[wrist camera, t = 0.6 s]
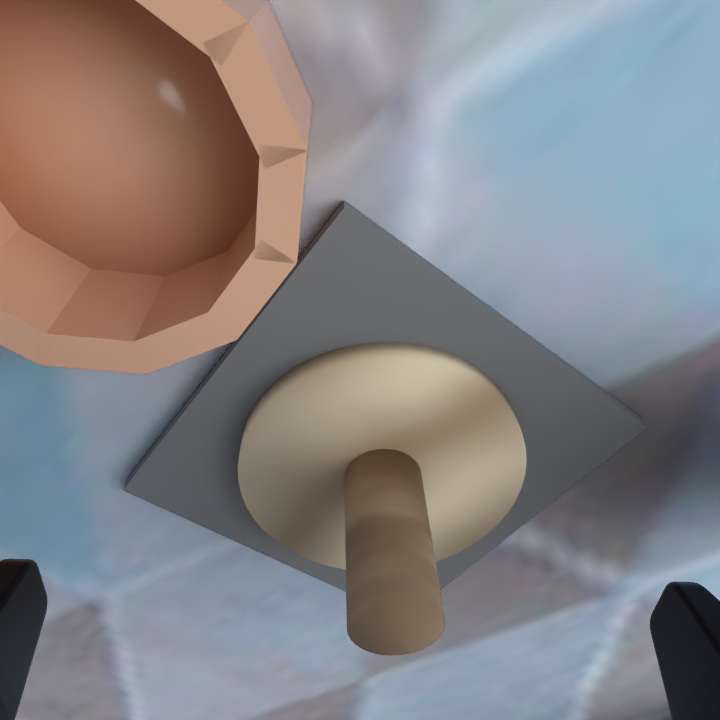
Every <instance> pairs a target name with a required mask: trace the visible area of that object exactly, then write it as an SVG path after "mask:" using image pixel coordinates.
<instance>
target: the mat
mask: <svg viewBox="0 0 720 720" xmlns="http://www.w3.org/2000/svg"><path fill="white" fill-rule="evenodd" d="M374 342H403V343H411V344H417V345H424V346H428V347H432V348H435V349H439V350H442V351H445V352H448V353H450V354H452V355H455V356H457V357H460V358H462V359H463V360H465V361H467V362H469V363H470V364H472V365H474V366H476V367H477V368H478V369H480V370H481V371H482V372H483V373H485V374H486V375H487V376H489V377H490V378H491V379H492V380H493V381H494V382H495V383H496V385H497V386H498V387H499V388H500V389H501V390H502V392H503V393H504V395H505V396H506V397H507V399H508V400H509V402H510V404H511V406H512V409H513V411H514V413H515V415H516V418H517V421H518V423H519V426H520V428H521V431H522V434H523V438H524V442H525V446H526V458H527V463H526V472H525V477H524V481H523V484H522V488H521V490H520V492H519V495H518V497H517V499H516V501H515V503H514V504H513V506H512V507H511V509H510V510H509V512H508V513H507V514H506V516H505V517H504V518H503V519H502V520H501V521H500V523H499V524H498V525H497V526H496V527H495V528H493V529H492V530H491V531H490V532H489V533H488V534H487V535H485V536H484V537H483V538H481V539H480V540H478V541H477V542H476V543H474V544H473V545H471V546H469V547H468V548H466V549H464V550H462V551H460V552H458V553H456V554H454V555H452V556H450V557H447V558H445V559H442V560H439V561H436V568H437V574H438V580H439V586H440V589H442V588H443V587H444V586H446V585H447V584H448V583H449V582H451V581H452V580H453V579H455V578H456V577H457V576H458V575H460V574H461V573H462V572H463V571H465V570H466V569H467V568H469V567H470V566H471V565H472V564H474V563H475V562H476V561H478V560H479V559H480V558H481V557H483V556H484V555H485V554H487V553H488V552H489V551H490V550H492V549H493V548H494V547H495V546H497V545H498V544H499V543H501V542H502V541H503V540H504V539H506V538H507V537H508V536H510V535H511V534H512V533H513V532H515V531H516V530H517V529H518V528H520V527H521V526H522V525H524V524H525V523H526V522H527V521H529V520H530V519H531V518H533V517H534V516H535V515H536V514H538V513H539V512H540V511H542V510H543V509H544V508H545V507H547V506H548V505H549V504H550V503H552V502H553V501H554V500H556V499H557V498H558V497H559V496H561V495H562V494H563V493H565V492H566V491H567V490H568V489H570V488H571V487H572V486H574V485H575V484H576V483H577V482H579V481H580V480H581V479H582V478H584V477H585V476H586V475H588V474H589V473H590V472H591V471H593V470H594V469H595V468H597V467H598V466H599V465H600V464H602V463H603V462H604V461H606V460H607V459H608V458H609V457H611V456H612V455H613V454H614V453H616V452H617V451H618V450H620V449H621V448H622V447H623V446H625V445H626V444H627V443H629V442H630V441H631V440H632V439H634V438H635V437H636V436H637V435H639V434H640V433H641V432H643V431H644V430H645V429H646V428H648V427H647V426H646V424H645V423H644V421H643V419H642V418H641V417H640V416H639V415H637V414H636V413H635V412H633V411H632V410H631V409H629V408H628V407H626V406H625V405H624V404H622V403H621V402H620V401H618V400H617V399H615V398H614V397H613V396H611V395H610V394H609V393H607V392H606V391H605V390H603V389H602V388H600V387H599V386H598V385H596V384H595V383H594V382H592V381H591V380H589V379H588V378H587V377H585V376H584V375H583V374H581V373H580V372H579V371H577V370H576V369H574V368H573V367H572V366H570V365H569V364H568V363H566V362H565V361H563V360H562V359H561V358H559V357H558V356H557V355H555V354H554V353H552V352H551V351H550V350H548V349H547V348H546V347H544V346H543V345H542V344H540V343H539V342H537V341H536V340H535V339H533V338H532V337H531V336H529V335H528V334H526V333H525V332H524V331H522V330H521V329H520V328H518V327H517V326H516V325H514V324H513V323H511V322H510V321H509V320H507V319H506V318H505V317H503V316H502V315H500V314H499V313H498V312H496V311H495V310H494V309H492V308H491V307H490V306H488V305H487V304H485V303H484V302H483V301H481V300H480V299H479V298H477V297H476V296H474V295H473V294H472V293H470V292H469V291H468V290H466V289H465V288H464V287H462V286H461V285H459V284H458V283H457V282H455V281H454V280H453V279H451V278H450V277H448V276H447V275H446V274H444V273H443V272H442V271H440V270H439V269H437V268H436V267H435V266H433V265H432V264H431V263H429V262H428V261H427V260H425V259H424V258H422V257H421V256H420V255H418V254H417V253H416V252H414V251H413V250H411V249H410V248H409V247H407V246H406V245H405V244H403V243H402V242H401V241H399V240H398V239H396V238H395V237H394V236H392V235H391V234H390V233H388V232H387V231H385V230H384V229H383V228H381V227H380V226H379V225H377V224H376V223H375V222H373V221H372V220H370V219H369V218H368V217H366V216H365V215H364V214H362V213H361V212H359V211H358V210H357V209H355V208H354V207H353V206H351V205H350V204H349V203H347V202H346V201H343V202H342V203H341V205H340V206H339V207H338V209H337V210H336V211H335V212H334V214H333V215H332V216H331V218H330V219H329V220H328V221H327V223H326V224H325V225H324V227H323V228H322V229H321V230H320V232H319V233H318V234H317V236H316V237H315V238H314V239H313V241H312V242H311V243H310V245H309V246H308V247H307V248H306V250H305V251H304V252H303V254H302V255H301V256H300V257H299V259H298V260H297V264H296V265H295V266H294V268H293V269H292V270H291V271H290V273H289V274H288V275H287V277H286V278H285V279H284V280H283V282H282V283H281V284H280V286H279V287H278V288H277V289H276V291H275V292H274V293H273V294H272V296H271V297H270V298H269V300H268V301H267V302H266V303H265V305H264V306H263V307H262V309H261V310H260V311H259V312H258V314H257V315H256V316H255V318H254V319H253V320H252V321H251V323H250V324H249V325H248V327H247V328H246V329H245V330H244V332H243V333H242V334H241V335H240V337H239V338H238V339H237V340H236V341H234V342H233V343H232V345H231V346H230V347H229V349H228V350H227V351H226V352H225V354H224V355H223V356H222V358H221V359H220V360H219V361H218V363H217V364H216V365H215V367H214V368H213V369H212V370H211V372H210V373H209V374H208V376H207V377H206V378H205V379H204V381H203V382H202V383H201V385H200V386H199V387H198V388H197V390H196V391H195V392H194V394H193V395H192V396H191V397H190V399H189V400H188V401H187V403H186V404H185V405H184V406H183V408H182V409H181V410H180V412H179V413H178V414H177V415H176V417H175V418H174V419H173V421H172V422H171V423H170V424H169V426H168V427H167V428H166V430H165V431H164V432H163V433H162V435H161V436H160V437H159V439H158V440H157V441H156V442H155V444H154V445H153V446H152V448H151V449H150V450H149V451H148V453H147V454H146V455H145V456H144V458H143V459H142V460H141V462H140V463H139V464H138V465H137V467H136V468H135V469H134V471H133V472H132V473H131V474H130V476H129V477H128V478H127V480H126V483H125V486H124V489H123V490H124V491H126V492H128V493H131V494H133V495H135V496H137V497H139V498H142V499H144V500H146V501H148V502H150V503H153V504H155V505H157V506H159V507H161V508H164V509H166V510H168V511H170V512H172V513H175V514H177V515H179V516H181V517H183V518H186V519H188V520H190V521H192V522H194V523H197V524H199V525H201V526H203V527H205V528H208V529H210V530H212V531H214V532H216V533H219V534H221V535H223V536H225V537H227V538H230V539H232V540H234V541H236V542H238V543H241V544H243V545H245V546H247V547H249V548H252V549H254V550H256V551H258V552H260V553H263V554H265V555H267V556H269V557H271V558H274V559H276V560H278V561H280V562H282V563H285V564H287V565H289V566H291V567H293V568H296V569H298V570H300V571H302V572H304V573H307V574H309V575H311V576H313V577H315V578H318V579H320V580H322V581H324V582H326V583H329V584H331V585H333V586H335V587H337V588H340V589H342V590H344V591H346V569H341V568H336V567H330V566H327V565H324V564H320V563H317V562H314V561H311V560H309V559H306V558H304V557H302V556H299V555H298V554H296V553H294V552H292V551H290V550H288V549H286V548H285V547H284V546H282V545H281V544H279V543H278V542H276V541H275V540H274V539H273V538H271V537H270V536H269V535H268V534H267V533H266V532H265V531H264V530H263V529H262V528H261V527H260V526H259V525H258V523H257V522H256V521H255V520H254V518H253V517H252V515H251V514H250V512H249V510H248V509H247V507H246V505H245V502H244V500H243V497H242V495H241V491H240V487H239V482H238V460H239V453H240V447H241V442H242V436H243V432H244V429H245V426H246V423H247V420H248V418H249V416H250V414H251V412H252V410H253V408H254V406H255V405H256V404H257V402H258V401H259V399H260V398H261V397H262V395H263V394H264V393H265V392H266V391H267V390H268V389H269V388H270V387H271V386H272V385H273V384H274V383H275V382H276V381H277V380H278V379H279V378H281V377H282V376H283V375H285V374H286V373H287V372H288V371H290V370H291V369H293V368H295V367H296V366H298V365H300V364H302V363H303V362H305V361H307V360H309V359H311V358H314V357H316V356H318V355H321V354H323V353H325V352H329V351H332V350H335V349H339V348H342V347H346V346H352V345H357V344H363V343H374Z"/></svg>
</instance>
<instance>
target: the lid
mask: <svg viewBox="0 0 720 720" xmlns="http://www.w3.org/2000/svg"><path fill="white" fill-rule="evenodd" d="M526 463H527V458H526V446H525V442H524V438H523V434H522V431H521V428H520V426H519V423H518V421H517V418H516V415H515V413H514V411H513V409H512V406H511V404H510V402H509V400H508V399H507V397H506V396H505V395H504V393H503V392H502V390H501V389H500V388H499V387H498V386H497V385H496V383H495V382H494V381H493V380H492V379H491V378H490V377H489V376H487V375H486V374H485V373H483V372H482V371H481V370H480V369H478V368H477V367H476V366H474V365H472V364H470V363H469V362H467V361H465V360H463V359H462V358H460V357H457V356H455V355H452V354H450V353H448V352H445V351H442V350H439V349H435V348H432V347H428V346H424V345H417V344H411V343H403V342H374V343H363V344H357V345H352V346H346V347H342V348H339V349H335V350H332V351H329V352H325V353H323V354H321V355H318V356H316V357H314V358H311V359H309V360H307V361H305V362H303V363H302V364H300V365H298V366H296V367H295V368H293V369H291V370H290V371H288V372H287V373H286V374H285V375H283V376H282V377H281V378H279V379H278V380H277V381H276V382H275V383H274V384H273V385H272V386H271V387H270V388H269V389H268V390H267V391H266V392H265V393H264V394H263V395H262V397H261V398H260V399H259V401H258V402H257V404H256V405H255V406H254V408H253V410H252V412H251V414H250V416H249V418H248V420H247V423H246V426H245V429H244V432H243V436H242V442H241V447H240V453H239V460H238V482H239V487H240V491H241V495H242V497H243V500H244V502H245V505H246V507H247V509H248V510H249V512H250V514H251V515H252V517H253V518H254V520H255V521H256V522H257V523H258V525H259V526H260V527H261V528H262V529H263V530H264V531H265V532H266V533H267V534H268V535H269V536H270V537H271V538H273V539H274V540H275V541H276V542H278V543H279V544H281V545H282V546H284V547H285V548H286V549H288V550H290V551H292V552H294V553H296V554H298V555H299V556H302V557H304V558H306V559H309V560H311V561H314V562H317V563H320V564H324V565H327V566H330V567H336V568H341V569H346V602H347V632H348V635H349V637H350V639H351V640H352V641H353V642H354V643H355V644H356V645H357V646H359V647H360V648H362V649H364V650H366V651H369V652H372V653H375V654H381V655H404V654H409V653H413V652H417V651H420V650H422V649H424V648H426V647H428V646H430V645H431V644H433V643H434V642H435V641H436V640H438V638H439V637H440V636H441V635H442V633H443V631H444V628H445V617H444V611H443V605H442V598H441V592H440V586H439V580H438V574H437V568H436V561H439V560H442V559H445V558H447V557H450V556H452V555H454V554H456V553H458V552H460V551H462V550H464V549H466V548H468V547H469V546H471V545H473V544H474V543H476V542H477V541H478V540H480V539H481V538H483V537H484V536H485V535H487V534H488V533H489V532H490V531H491V530H492V529H493V528H495V527H496V526H497V525H498V524H499V523H500V521H501V520H502V519H503V518H504V517H505V516H506V514H507V513H508V512H509V510H510V509H511V507H512V506H513V504H514V503H515V501H516V499H517V497H518V495H519V492H520V490H521V488H522V484H523V481H524V477H525V472H526Z"/></svg>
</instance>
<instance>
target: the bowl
mask: <svg viewBox="0 0 720 720" xmlns="http://www.w3.org/2000/svg"><path fill="white" fill-rule="evenodd" d="M311 111H312V102H311V99H310V97H309V95H308V92H307V90H306V88H305V85H304V83H303V81H302V78H301V76H300V74H299V71H298V69H297V67H296V64H295V62H294V60H293V57H292V55H291V53H290V50H289V48H288V46H287V43H286V41H285V39H284V36H283V34H282V32H281V29H280V27H279V25H278V22H277V20H276V18H275V15H274V13H273V11H272V8H271V6H270V4H269V2H268V0H0V345H1V346H3V347H5V348H7V349H9V350H11V351H13V352H15V353H17V354H19V355H21V356H23V357H25V358H27V359H29V360H31V361H33V362H34V363H36V364H38V365H42V366H54V367H65V368H76V369H88V370H99V371H111V372H122V373H133V374H145V375H147V374H149V373H152V372H154V371H157V370H160V369H162V368H165V367H168V366H170V365H173V364H175V363H178V362H181V361H183V360H186V359H189V358H191V357H194V356H197V355H199V354H202V353H204V352H207V351H210V350H212V349H215V348H218V347H220V346H223V345H225V344H228V343H231V342H233V341H236V340H237V339H238V338H239V337H240V335H241V334H242V333H243V332H244V330H245V329H246V328H247V327H248V325H249V324H250V323H251V321H252V320H253V319H254V318H255V316H256V315H257V314H258V312H259V311H260V310H261V309H262V307H263V306H264V305H265V303H266V302H267V301H268V300H269V298H270V297H271V296H272V294H273V293H274V292H275V291H276V289H277V288H278V287H279V286H280V284H281V283H282V282H283V280H284V279H285V278H286V277H287V275H288V274H289V273H290V271H291V270H292V269H293V268H294V266H295V265H296V264H297V258H298V249H299V239H300V229H301V220H302V210H303V200H304V188H305V177H306V166H307V155H308V144H309V133H310V122H311Z"/></svg>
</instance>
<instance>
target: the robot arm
mask: <svg viewBox="0 0 720 720" xmlns="http://www.w3.org/2000/svg"><path fill="white" fill-rule="evenodd" d="M46 610H47V595H46V591H45V588H44V585H43V581H42V578H41V575H40V572H39V568H38V566H37V563H36V562H34V561H33V560H30V559H5V560H2V561H0V720H15V717H16V714H17V710H18V707H19V704H20V701H21V697H22V694H23V690H24V687H25V683H26V680H27V676H28V673H29V670H30V666H31V663H32V659H33V656H34V652H35V649H36V645H37V642H38V639H39V635H40V632H41V628H42V625H43V621H44V618H45V614H46ZM650 630H651V635H652V639H653V643H654V647H655V651H656V655H657V659H658V664H659V668H660V672H661V676H662V680H663V684H664V688H665V692H666V696H667V700H668V704H669V708H670V712H671V716H672V720H720V601H719V600H718V599H717V598H716V597H715V596H714V595H712V594H711V593H710V592H709V591H708V590H707V589H706V588H704V587H703V586H702V585H700V584H698V583H693V582H671V583H669V584H668V585H667V586H666V587H665V589H664V591H663V593H662V595H661V597H660V599H659V601H658V603H657V605H656V607H655V609H654V610H653V612H652V615H651V619H650Z"/></svg>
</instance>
